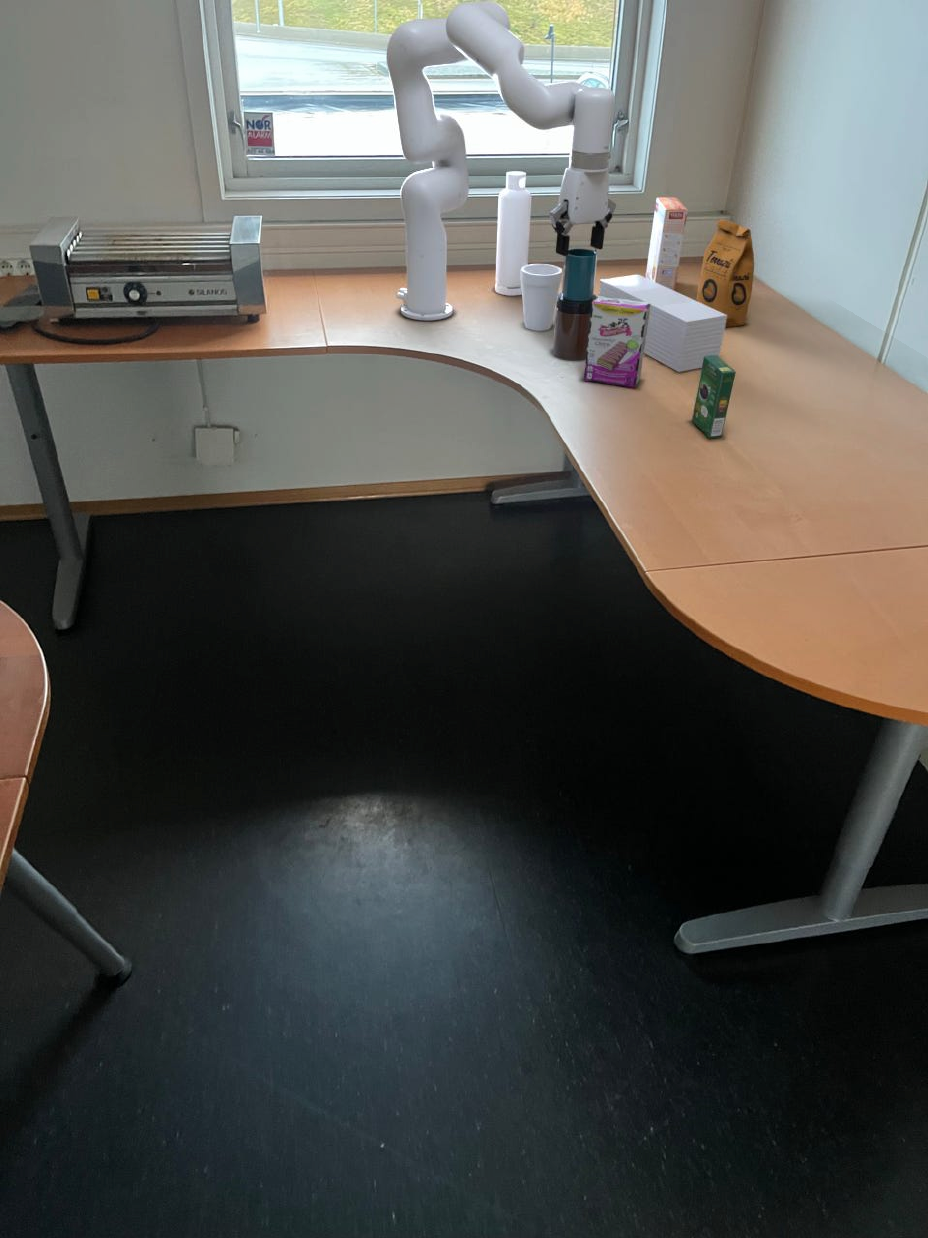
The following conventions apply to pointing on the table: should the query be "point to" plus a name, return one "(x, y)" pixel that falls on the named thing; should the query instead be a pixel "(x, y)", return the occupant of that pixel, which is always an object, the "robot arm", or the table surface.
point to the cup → (579, 274)
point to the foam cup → (539, 294)
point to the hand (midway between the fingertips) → (579, 250)
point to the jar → (571, 335)
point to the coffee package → (728, 272)
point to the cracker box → (666, 241)
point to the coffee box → (713, 396)
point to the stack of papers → (672, 322)
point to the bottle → (512, 233)
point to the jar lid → (574, 305)
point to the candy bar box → (616, 341)
